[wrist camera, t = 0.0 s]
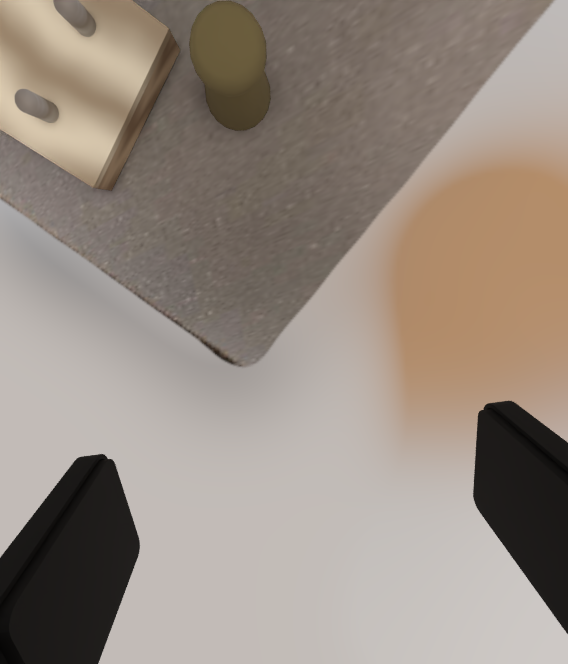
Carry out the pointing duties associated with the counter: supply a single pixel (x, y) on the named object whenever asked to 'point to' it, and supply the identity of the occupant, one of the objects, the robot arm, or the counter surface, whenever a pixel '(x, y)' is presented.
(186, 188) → the counter surface
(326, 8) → the counter surface
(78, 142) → the wooden board with pegs
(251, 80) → the olive chess pawn
